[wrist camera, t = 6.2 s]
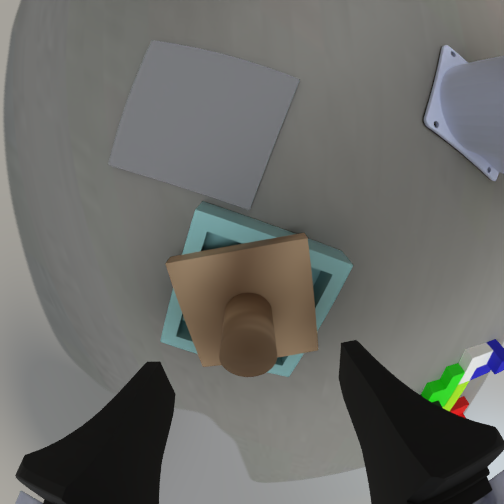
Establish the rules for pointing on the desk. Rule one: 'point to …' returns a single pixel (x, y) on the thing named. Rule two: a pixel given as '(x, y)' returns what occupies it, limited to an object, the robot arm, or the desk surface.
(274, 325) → the lid
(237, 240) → the dish
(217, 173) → the mat
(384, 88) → the desk surface
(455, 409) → the building blocks
